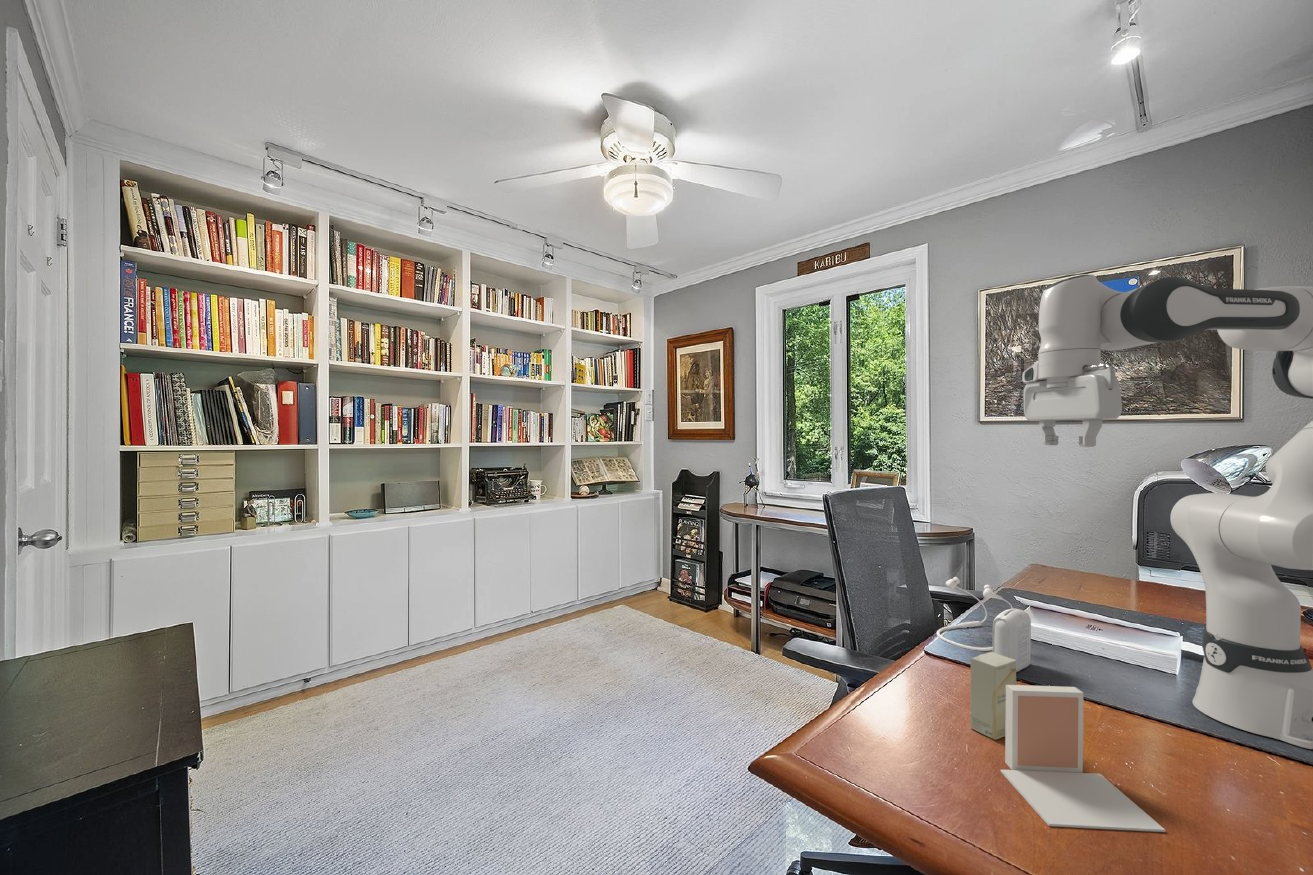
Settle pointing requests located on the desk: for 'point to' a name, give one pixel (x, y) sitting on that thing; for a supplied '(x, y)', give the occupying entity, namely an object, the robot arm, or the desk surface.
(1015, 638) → the grey rounded block
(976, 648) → the earphone
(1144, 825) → the mat
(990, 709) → the skincare box
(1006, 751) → the tile
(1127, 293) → the robot arm
